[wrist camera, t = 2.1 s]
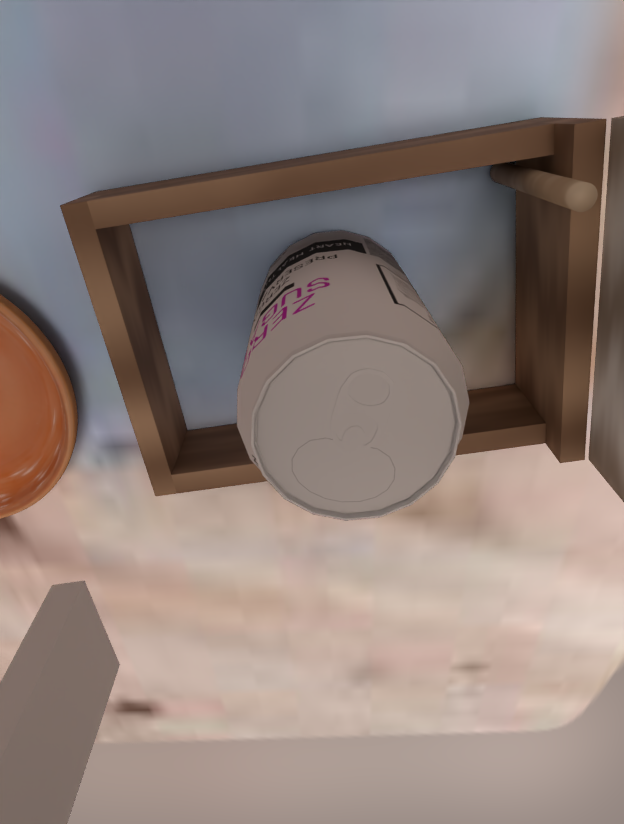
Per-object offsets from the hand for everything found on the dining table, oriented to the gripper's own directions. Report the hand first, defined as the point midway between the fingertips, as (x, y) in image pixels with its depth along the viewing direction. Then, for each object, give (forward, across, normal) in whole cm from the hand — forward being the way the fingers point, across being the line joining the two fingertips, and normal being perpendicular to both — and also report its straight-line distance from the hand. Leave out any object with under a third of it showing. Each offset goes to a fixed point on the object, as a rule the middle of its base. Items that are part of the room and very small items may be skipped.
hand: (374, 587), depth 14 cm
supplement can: (+22, 0, 0) cm, 22 cm away
